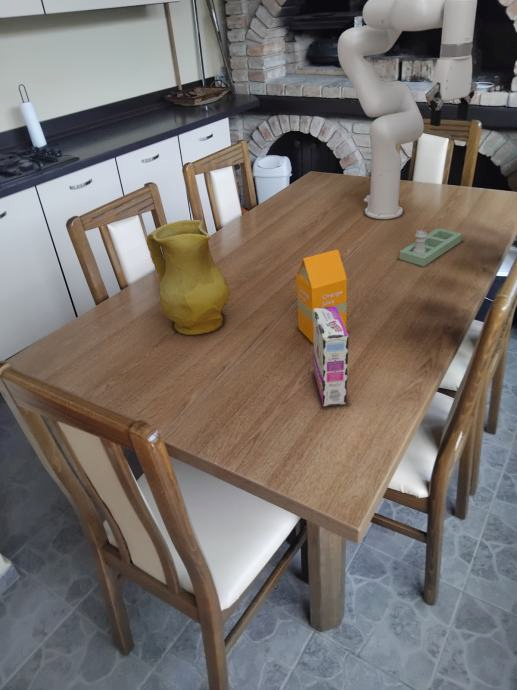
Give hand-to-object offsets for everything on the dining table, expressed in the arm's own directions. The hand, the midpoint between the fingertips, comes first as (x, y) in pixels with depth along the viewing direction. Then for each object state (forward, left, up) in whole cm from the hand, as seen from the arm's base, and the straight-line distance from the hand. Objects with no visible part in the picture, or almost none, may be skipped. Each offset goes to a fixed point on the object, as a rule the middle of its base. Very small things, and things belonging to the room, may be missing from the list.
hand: (448, 122), depth 147 cm
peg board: (+5, -7, -34) cm, 35 cm away
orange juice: (+19, -59, -34) cm, 70 cm away
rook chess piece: (+6, -14, -34) cm, 37 cm away
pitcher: (-5, -80, -34) cm, 87 cm away
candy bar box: (+37, -71, -34) cm, 87 cm away
